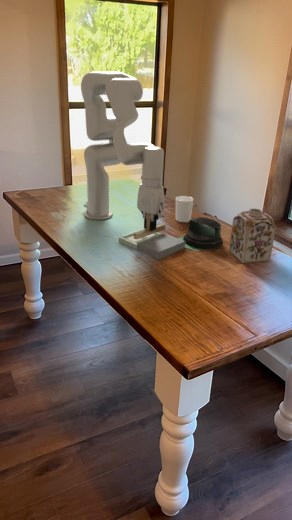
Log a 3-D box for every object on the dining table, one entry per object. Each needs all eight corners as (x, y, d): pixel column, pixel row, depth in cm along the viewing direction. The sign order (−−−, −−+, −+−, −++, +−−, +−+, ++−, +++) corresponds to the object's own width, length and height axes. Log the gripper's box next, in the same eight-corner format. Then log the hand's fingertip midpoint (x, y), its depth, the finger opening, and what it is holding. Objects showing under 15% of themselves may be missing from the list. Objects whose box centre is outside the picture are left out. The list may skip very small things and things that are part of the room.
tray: (118, 242, 166) (118, 237, 165) (145, 232, 176) (145, 227, 175) (136, 250, 160) (136, 244, 159) (163, 239, 170) (163, 234, 169)
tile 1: (134, 241, 162) (134, 245, 163) (142, 238, 165) (142, 242, 166) (126, 238, 165) (126, 242, 166) (134, 235, 168) (134, 239, 168)
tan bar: (132, 237, 159) (133, 215, 155) (161, 228, 169) (162, 206, 165) (137, 239, 157) (138, 216, 153) (165, 229, 168) (167, 208, 164)
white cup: (191, 217, 195) (193, 196, 190) (191, 223, 188) (193, 201, 183) (174, 216, 195) (175, 195, 191) (173, 222, 188) (175, 200, 184)
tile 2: (147, 237, 167) (147, 241, 167) (155, 234, 170) (155, 238, 170) (139, 234, 169) (139, 237, 170) (147, 231, 172) (147, 234, 173)
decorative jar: (241, 263, 153) (248, 216, 145) (227, 250, 163) (233, 205, 155) (271, 261, 156) (279, 214, 148) (255, 248, 166) (262, 204, 158)
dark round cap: (236, 242, 171) (239, 220, 167) (211, 257, 157) (214, 234, 153) (195, 229, 182) (197, 208, 178) (168, 242, 168) (169, 220, 164)
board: (136, 250, 160) (136, 242, 159) (163, 239, 170) (163, 232, 169) (158, 259, 153) (158, 252, 152) (184, 248, 163) (185, 241, 162)
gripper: (129, 179, 157) (128, 225, 165) (161, 188, 147) (158, 237, 155) (143, 175, 162) (141, 221, 170) (175, 184, 152) (172, 232, 160)
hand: (150, 228), depth 162 cm, fingers closed on tan bar, 2 cm apart
